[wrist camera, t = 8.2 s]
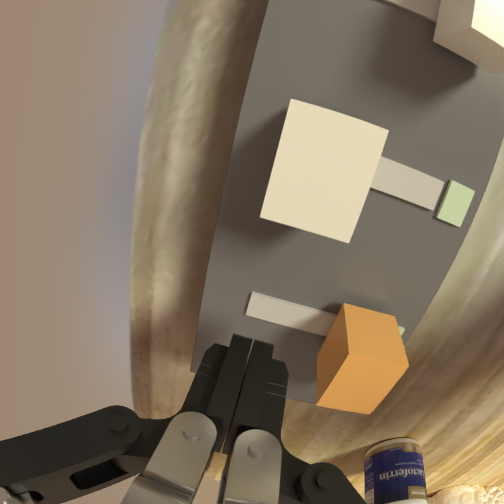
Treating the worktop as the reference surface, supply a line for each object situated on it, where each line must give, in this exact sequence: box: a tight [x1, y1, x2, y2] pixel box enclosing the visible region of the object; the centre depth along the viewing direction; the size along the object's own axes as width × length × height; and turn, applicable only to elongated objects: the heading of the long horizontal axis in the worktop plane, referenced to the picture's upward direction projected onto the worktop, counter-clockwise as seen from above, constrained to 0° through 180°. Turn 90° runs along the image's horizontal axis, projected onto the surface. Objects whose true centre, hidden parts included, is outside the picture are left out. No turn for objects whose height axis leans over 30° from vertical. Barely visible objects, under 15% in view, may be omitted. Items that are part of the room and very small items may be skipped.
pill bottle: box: [364, 438, 427, 504], centre depth 20 cm, size 6×6×10 cm
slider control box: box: [190, 0, 504, 404], centre depth 11 cm, size 32×10×4 cm, turn 167°
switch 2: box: [316, 303, 409, 414], centre depth 12 cm, size 2×3×3 cm
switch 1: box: [260, 99, 389, 243], centre depth 9 cm, size 2×3×3 cm
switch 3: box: [433, 0, 504, 73], centre depth 6 cm, size 2×3×3 cm
